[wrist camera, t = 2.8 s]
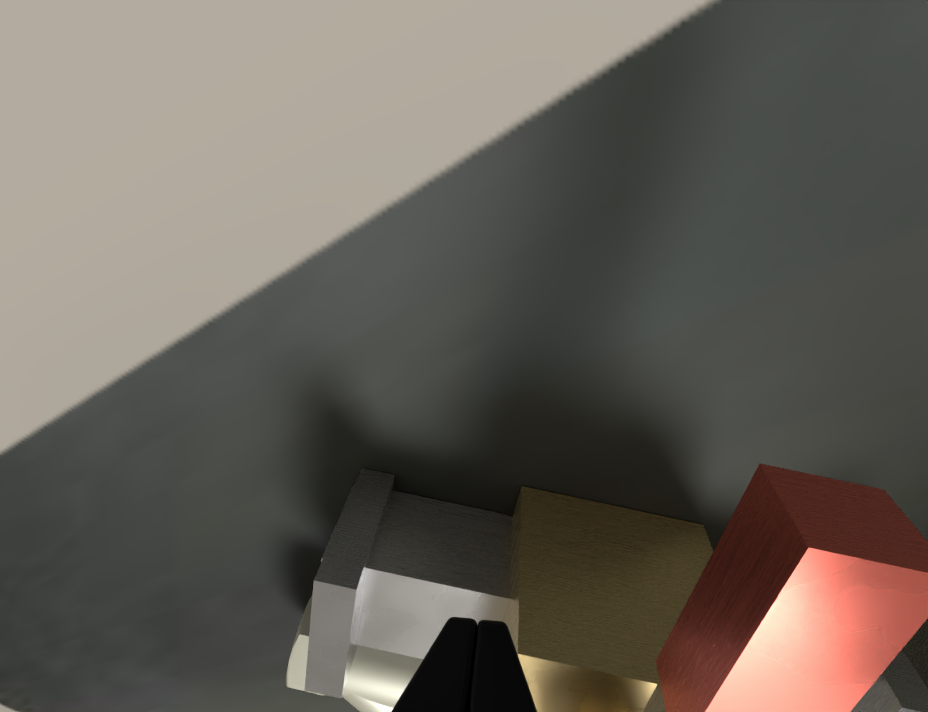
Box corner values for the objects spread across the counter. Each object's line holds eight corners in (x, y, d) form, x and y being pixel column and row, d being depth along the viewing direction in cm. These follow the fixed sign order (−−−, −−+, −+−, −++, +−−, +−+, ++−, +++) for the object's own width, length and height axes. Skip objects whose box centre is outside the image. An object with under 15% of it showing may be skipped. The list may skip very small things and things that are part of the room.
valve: (869, 559, 20) (1061, 838, 13) (788, 674, 23) (906, 953, 15) (358, 451, 20) (261, 663, 13) (342, 578, 23) (257, 809, 16)
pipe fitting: (482, 699, 26) (518, 611, 23) (473, 798, 23) (514, 713, 19) (312, 659, 26) (322, 565, 23) (279, 752, 23) (284, 659, 19)
